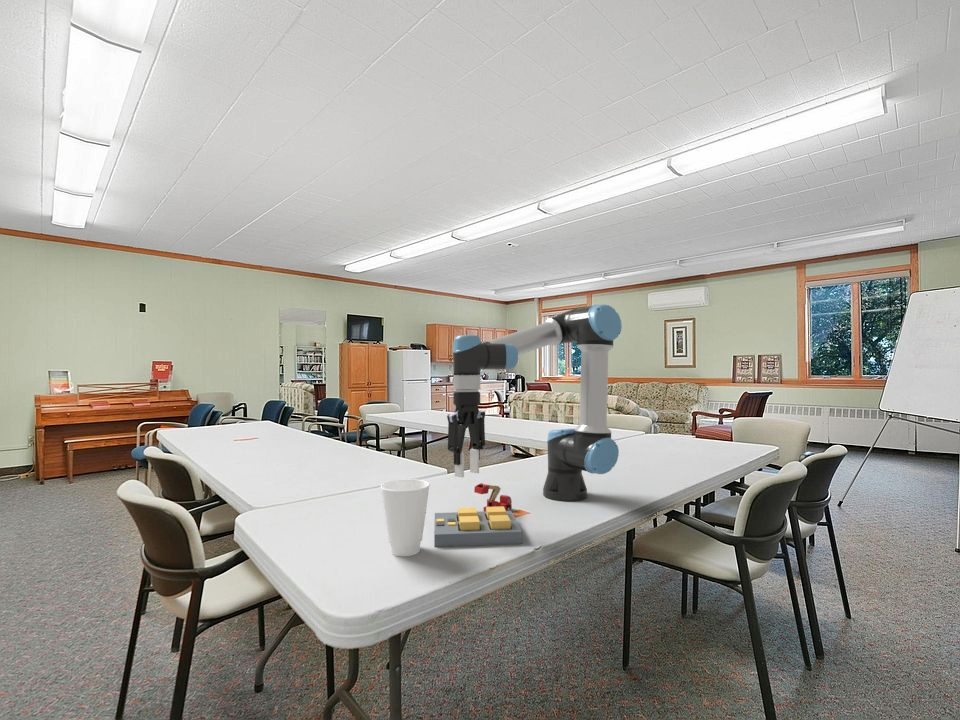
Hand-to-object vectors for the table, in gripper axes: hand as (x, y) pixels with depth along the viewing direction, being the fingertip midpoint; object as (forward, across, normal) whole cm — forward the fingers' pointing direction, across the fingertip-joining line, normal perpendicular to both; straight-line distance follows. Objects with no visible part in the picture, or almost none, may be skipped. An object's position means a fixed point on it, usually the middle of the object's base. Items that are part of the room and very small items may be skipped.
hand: (467, 474), depth 133 cm
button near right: (+13, +6, +6) cm, 15 cm away
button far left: (+13, -6, +6) cm, 15 cm away
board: (+15, +1, +4) cm, 16 cm away
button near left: (+13, 0, +11) cm, 17 cm away
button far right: (+13, 0, 0) cm, 13 cm away
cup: (+15, +22, -1) cm, 27 cm away
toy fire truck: (+15, -16, -3) cm, 22 cm away
